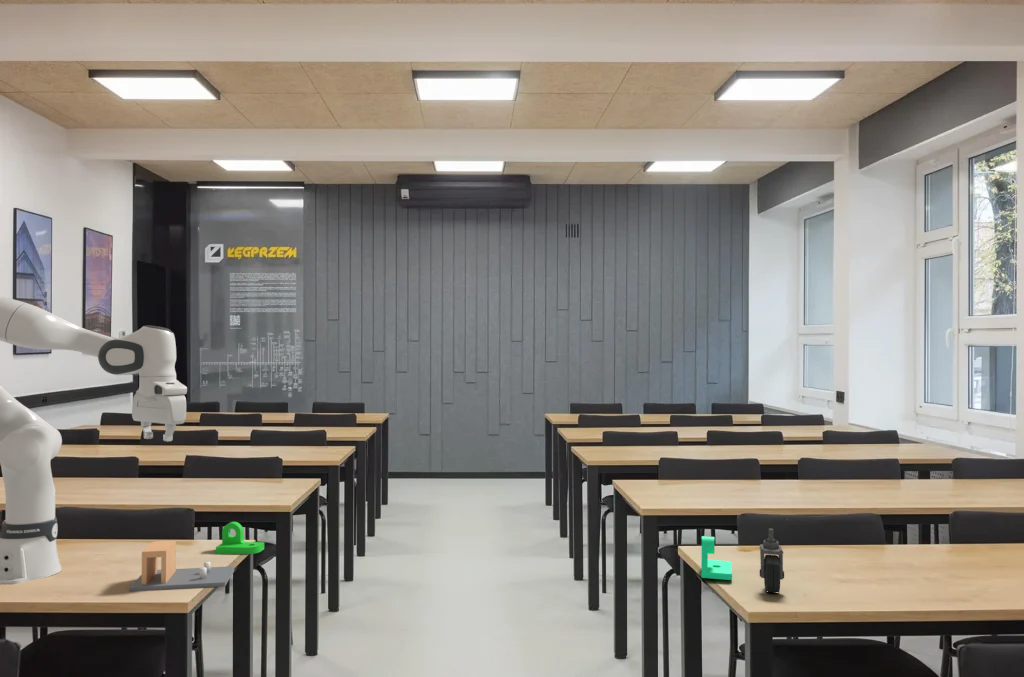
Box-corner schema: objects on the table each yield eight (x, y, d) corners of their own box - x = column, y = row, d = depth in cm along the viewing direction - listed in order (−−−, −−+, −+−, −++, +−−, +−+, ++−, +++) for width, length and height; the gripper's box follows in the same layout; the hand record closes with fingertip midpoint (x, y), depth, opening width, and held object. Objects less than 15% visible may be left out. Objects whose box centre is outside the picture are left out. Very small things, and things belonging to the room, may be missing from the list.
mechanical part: (215, 553, 218) (216, 526, 218) (225, 548, 224) (225, 521, 224) (256, 554, 217) (256, 527, 217) (264, 549, 223) (264, 522, 223)
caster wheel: (782, 587, 189) (782, 527, 189) (785, 599, 180) (785, 536, 180) (758, 585, 191) (758, 526, 191) (760, 597, 181) (761, 535, 182)
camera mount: (732, 584, 192) (732, 544, 192) (701, 581, 194) (701, 542, 194) (730, 570, 204) (730, 532, 204) (701, 568, 205) (701, 531, 206)
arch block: (141, 584, 184) (141, 551, 184) (152, 572, 194) (152, 541, 194) (165, 583, 185) (166, 550, 186) (175, 571, 195) (175, 540, 195)
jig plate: (129, 593, 182) (129, 577, 182) (145, 576, 196) (145, 561, 196) (224, 588, 186) (225, 572, 186) (234, 571, 200) (234, 556, 200)
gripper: (125, 386, 200) (125, 438, 200) (167, 388, 188) (167, 443, 188) (148, 385, 205) (148, 436, 205) (190, 387, 194) (191, 441, 193)
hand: (158, 439), depth 197 cm, fingers open, 8 cm apart
